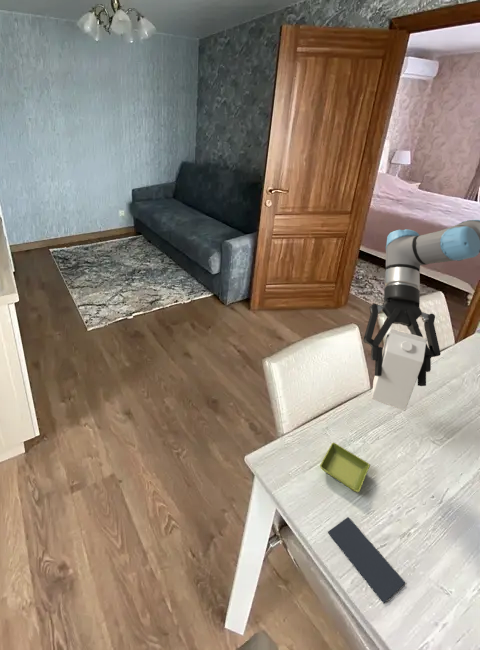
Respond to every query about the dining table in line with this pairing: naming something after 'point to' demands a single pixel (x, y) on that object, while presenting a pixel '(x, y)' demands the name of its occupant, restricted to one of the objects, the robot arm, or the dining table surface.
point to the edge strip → (366, 559)
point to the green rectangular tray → (345, 467)
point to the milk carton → (399, 368)
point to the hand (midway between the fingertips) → (399, 380)
